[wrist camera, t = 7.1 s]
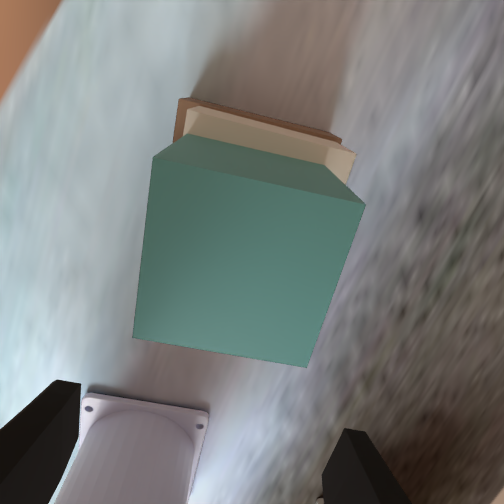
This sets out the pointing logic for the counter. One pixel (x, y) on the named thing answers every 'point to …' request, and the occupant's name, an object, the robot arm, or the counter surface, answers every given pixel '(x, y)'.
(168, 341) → the teal block
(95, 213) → the counter surface
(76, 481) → the robot arm
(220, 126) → the cream middle slab
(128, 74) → the counter surface
